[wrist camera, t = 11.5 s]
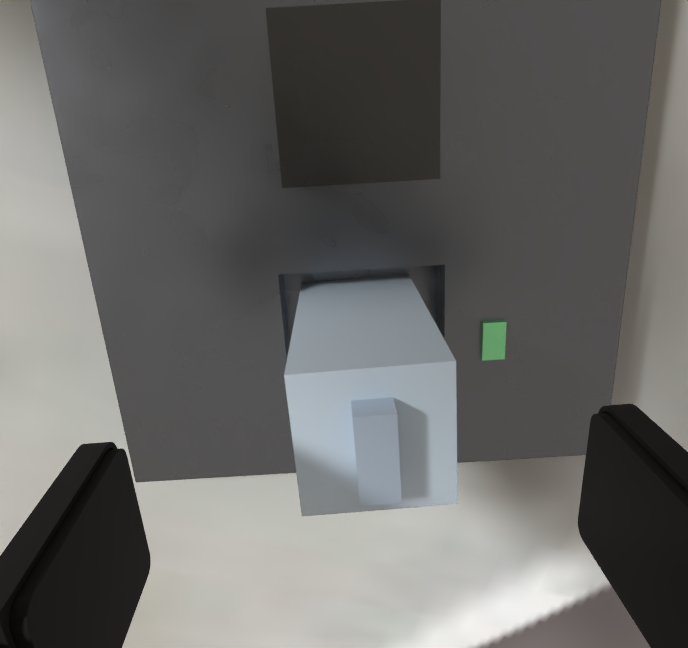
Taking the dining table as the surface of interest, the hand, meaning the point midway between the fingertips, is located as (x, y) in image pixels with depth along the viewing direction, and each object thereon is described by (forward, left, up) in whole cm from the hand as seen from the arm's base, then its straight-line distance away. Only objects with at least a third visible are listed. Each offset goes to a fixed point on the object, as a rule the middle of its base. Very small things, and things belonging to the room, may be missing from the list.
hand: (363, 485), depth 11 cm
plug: (0, 0, -10) cm, 10 cm away
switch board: (-8, +1, -11) cm, 13 cm away
